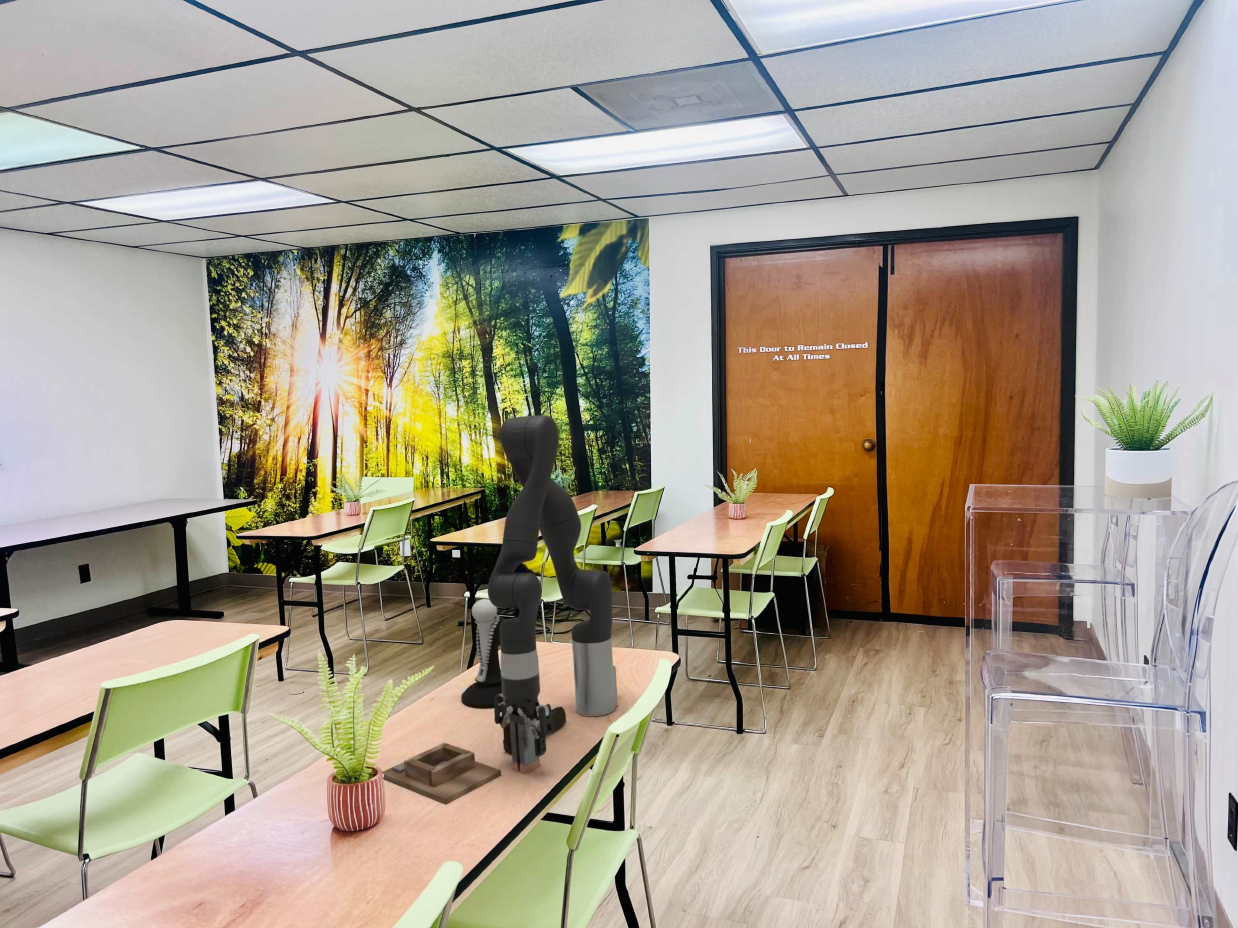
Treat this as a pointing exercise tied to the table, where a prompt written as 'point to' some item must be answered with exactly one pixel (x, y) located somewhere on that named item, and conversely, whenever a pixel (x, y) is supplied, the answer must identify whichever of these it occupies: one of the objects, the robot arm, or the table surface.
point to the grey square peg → (522, 745)
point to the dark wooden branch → (558, 722)
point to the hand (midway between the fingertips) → (525, 749)
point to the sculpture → (485, 657)
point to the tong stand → (442, 773)
